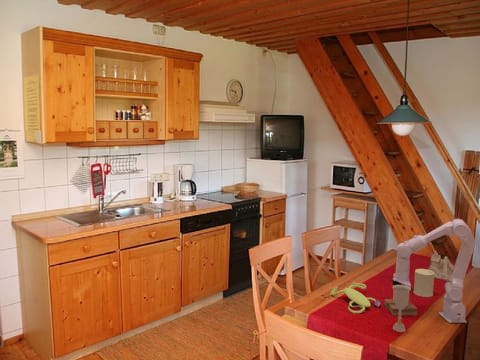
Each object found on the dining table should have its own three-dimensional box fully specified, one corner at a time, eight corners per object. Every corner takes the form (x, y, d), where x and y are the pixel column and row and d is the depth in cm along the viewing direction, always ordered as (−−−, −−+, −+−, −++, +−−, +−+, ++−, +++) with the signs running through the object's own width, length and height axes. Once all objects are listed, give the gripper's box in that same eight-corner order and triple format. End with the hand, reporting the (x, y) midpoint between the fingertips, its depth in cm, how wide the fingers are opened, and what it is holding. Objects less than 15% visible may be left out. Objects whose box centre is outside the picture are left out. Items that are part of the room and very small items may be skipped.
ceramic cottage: (450, 281, 233) (452, 254, 232) (421, 274, 245) (423, 249, 244) (462, 277, 243) (464, 251, 242) (434, 270, 255) (435, 246, 254)
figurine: (359, 289, 222) (360, 279, 221) (389, 311, 196) (389, 300, 195) (327, 292, 218) (327, 282, 217) (352, 315, 192) (353, 303, 191)
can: (435, 297, 211) (436, 274, 210) (415, 296, 213) (416, 273, 212) (430, 290, 220) (432, 268, 219) (411, 289, 222) (413, 267, 220)
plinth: (417, 315, 192) (417, 308, 191) (393, 315, 191) (393, 309, 191) (406, 304, 203) (407, 298, 202) (383, 305, 202) (384, 299, 202)
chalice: (404, 325, 182) (406, 284, 180) (411, 332, 176) (413, 291, 173) (387, 325, 182) (389, 284, 180) (393, 332, 175) (396, 291, 173)
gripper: (387, 264, 201) (386, 291, 203) (400, 275, 187) (398, 304, 189) (402, 264, 202) (400, 291, 204) (416, 275, 187) (414, 304, 189)
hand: (400, 297), depth 196 cm, fingers open, 6 cm apart
